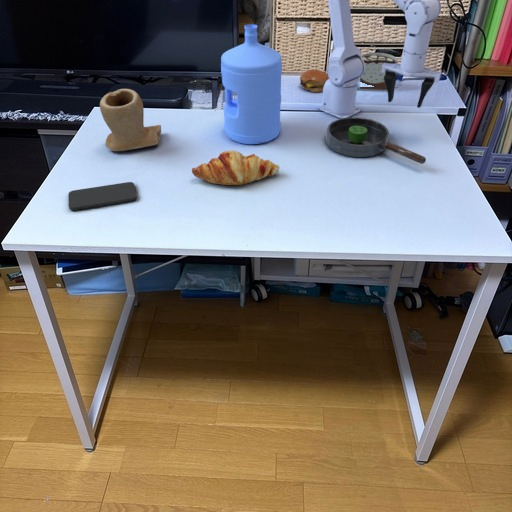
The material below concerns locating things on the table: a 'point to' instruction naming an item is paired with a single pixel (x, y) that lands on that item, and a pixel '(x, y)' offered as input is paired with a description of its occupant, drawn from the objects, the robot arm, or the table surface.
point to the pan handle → (403, 152)
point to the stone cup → (127, 121)
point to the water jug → (252, 90)
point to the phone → (101, 195)
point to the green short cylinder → (357, 134)
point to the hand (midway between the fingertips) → (404, 103)
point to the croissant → (235, 169)
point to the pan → (344, 146)
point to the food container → (375, 70)
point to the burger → (313, 80)
